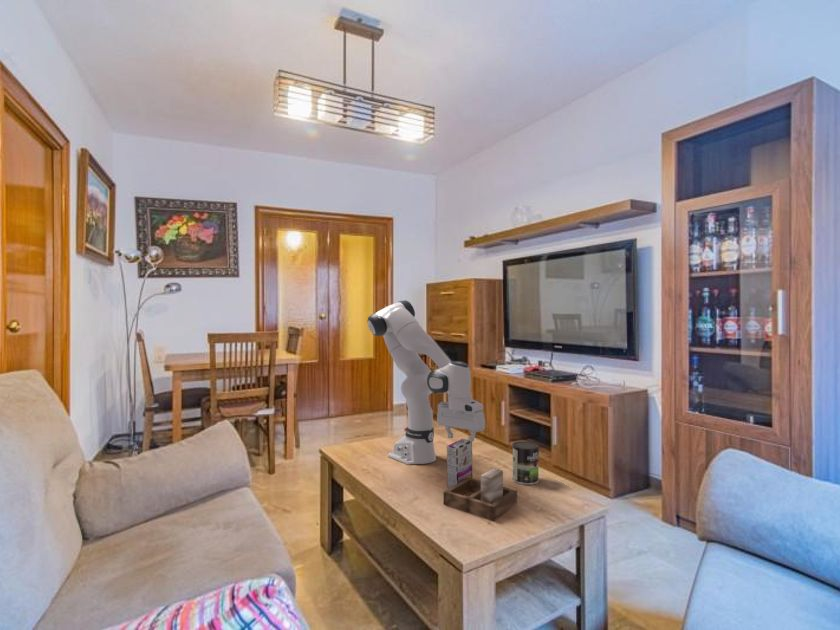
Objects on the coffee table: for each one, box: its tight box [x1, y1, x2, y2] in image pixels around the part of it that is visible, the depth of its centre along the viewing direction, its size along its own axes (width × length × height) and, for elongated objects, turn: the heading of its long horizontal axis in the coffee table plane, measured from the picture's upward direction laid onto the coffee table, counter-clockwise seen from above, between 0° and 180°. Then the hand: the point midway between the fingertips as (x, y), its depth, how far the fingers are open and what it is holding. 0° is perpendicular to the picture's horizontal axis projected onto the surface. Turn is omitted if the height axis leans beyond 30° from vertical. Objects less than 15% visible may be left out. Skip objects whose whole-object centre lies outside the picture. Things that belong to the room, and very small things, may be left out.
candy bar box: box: [446, 438, 473, 489], centre depth 180 cm, size 11×5×16 cm, turn 143°
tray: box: [442, 467, 518, 522], centre depth 163 cm, size 20×17×12 cm
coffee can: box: [511, 440, 540, 486], centre depth 185 cm, size 10×10×14 cm
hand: (460, 439), depth 179 cm, fingers open, 8 cm apart
